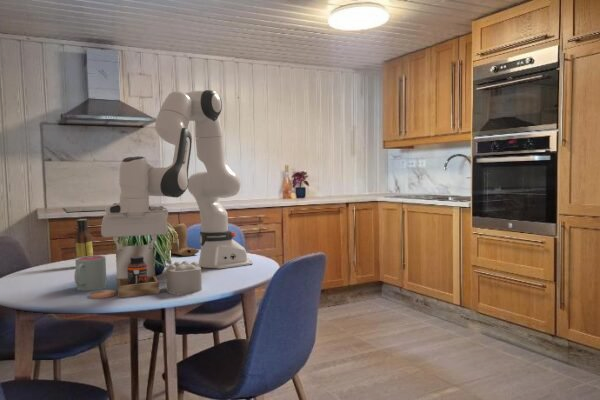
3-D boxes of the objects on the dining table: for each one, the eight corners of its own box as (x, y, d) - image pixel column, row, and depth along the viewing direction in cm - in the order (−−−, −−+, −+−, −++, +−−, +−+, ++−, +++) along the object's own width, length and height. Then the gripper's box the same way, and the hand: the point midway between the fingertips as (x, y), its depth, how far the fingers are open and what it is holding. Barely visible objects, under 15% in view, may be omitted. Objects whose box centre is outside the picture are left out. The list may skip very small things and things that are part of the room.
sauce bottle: (92, 264, 199) (90, 218, 198) (94, 266, 193) (93, 219, 192) (75, 266, 195) (73, 219, 194) (77, 268, 190) (75, 220, 189)
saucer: (115, 291, 150) (115, 288, 150) (116, 296, 144) (116, 294, 143) (89, 294, 147) (89, 291, 147) (89, 299, 140) (89, 297, 140)
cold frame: (153, 282, 162) (152, 244, 161) (159, 293, 147) (157, 250, 147) (116, 286, 157) (115, 246, 157) (118, 297, 143) (117, 253, 142)
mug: (86, 283, 162) (85, 255, 161) (111, 284, 161) (110, 255, 160) (62, 293, 148) (61, 263, 148) (89, 294, 147) (88, 263, 147)
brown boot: (161, 254, 221) (160, 223, 221) (184, 251, 229) (183, 221, 228) (176, 258, 210) (175, 225, 209) (200, 255, 218) (199, 223, 217)
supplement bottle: (141, 294, 147) (140, 258, 146) (124, 293, 148) (123, 258, 147) (151, 289, 152) (149, 255, 152) (134, 288, 154) (133, 255, 153)
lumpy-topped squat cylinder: (172, 295, 145) (171, 267, 144) (163, 286, 156) (162, 261, 156) (204, 290, 150) (204, 264, 149) (193, 283, 161) (192, 258, 161)
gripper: (166, 205, 156) (167, 246, 156) (100, 207, 147) (101, 250, 148) (169, 206, 150) (169, 249, 150) (100, 208, 142) (101, 253, 142)
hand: (135, 249), depth 149 cm, fingers open, 8 cm apart
